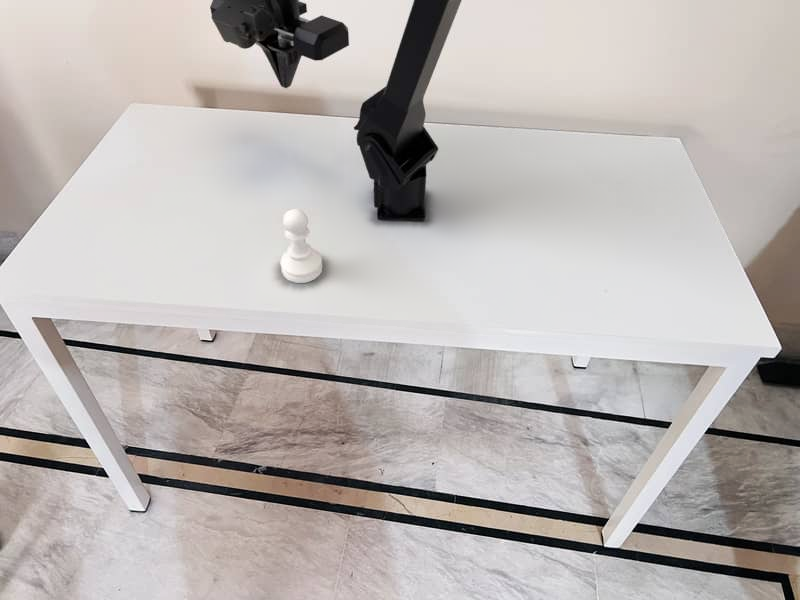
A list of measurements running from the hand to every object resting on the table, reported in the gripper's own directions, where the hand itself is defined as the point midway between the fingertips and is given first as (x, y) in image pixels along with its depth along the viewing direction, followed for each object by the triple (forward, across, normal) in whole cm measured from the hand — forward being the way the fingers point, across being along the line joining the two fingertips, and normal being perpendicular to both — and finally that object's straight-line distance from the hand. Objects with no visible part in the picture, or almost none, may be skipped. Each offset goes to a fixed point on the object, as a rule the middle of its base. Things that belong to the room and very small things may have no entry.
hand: (286, 86), depth 82 cm
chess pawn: (+12, +16, -16) cm, 26 cm away
